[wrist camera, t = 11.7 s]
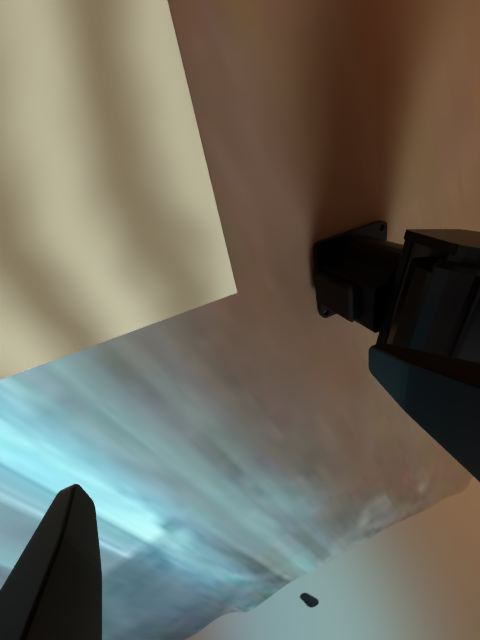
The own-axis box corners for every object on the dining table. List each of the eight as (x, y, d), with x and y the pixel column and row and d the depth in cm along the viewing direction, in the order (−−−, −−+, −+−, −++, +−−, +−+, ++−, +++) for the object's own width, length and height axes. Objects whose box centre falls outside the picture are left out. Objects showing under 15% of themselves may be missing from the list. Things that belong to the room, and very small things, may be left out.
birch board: (136, -102, 12) (138, -122, 11) (232, 287, 21) (237, 292, 20) (-609, -70, 8) (-694, -98, 7) (-89, 404, 17) (-100, 416, 16)
